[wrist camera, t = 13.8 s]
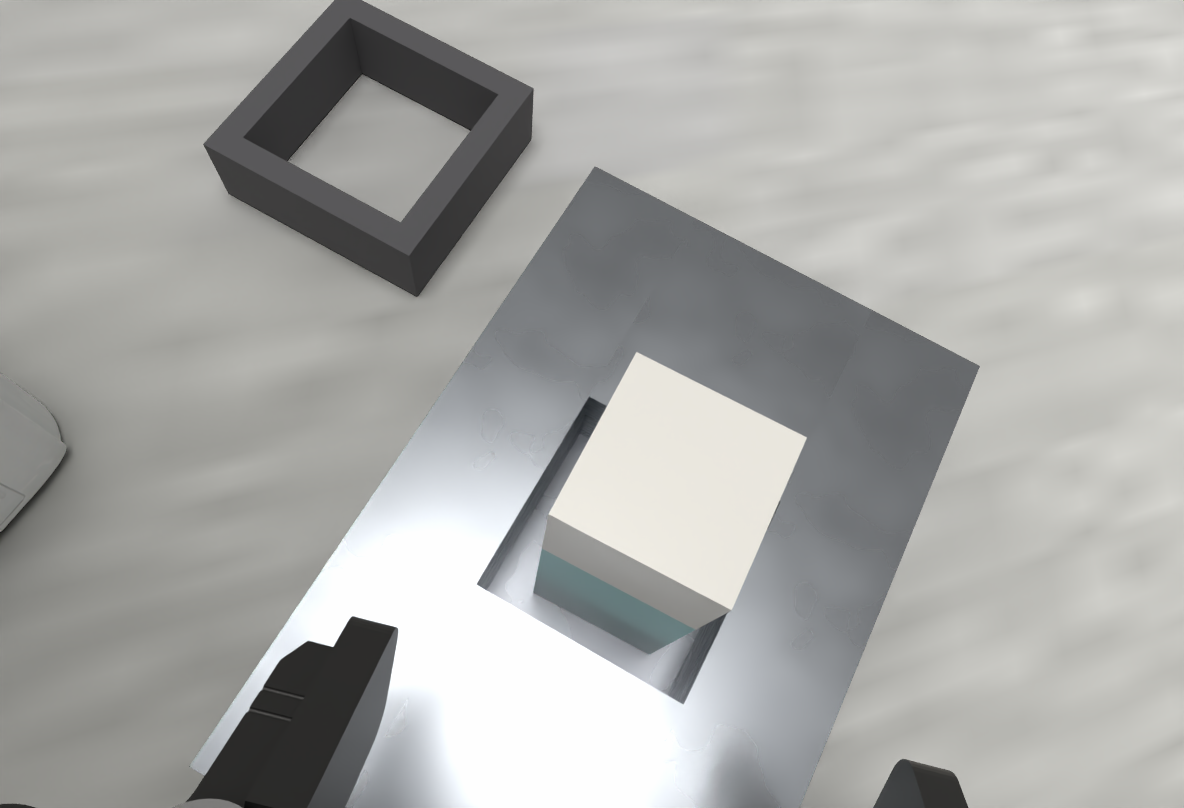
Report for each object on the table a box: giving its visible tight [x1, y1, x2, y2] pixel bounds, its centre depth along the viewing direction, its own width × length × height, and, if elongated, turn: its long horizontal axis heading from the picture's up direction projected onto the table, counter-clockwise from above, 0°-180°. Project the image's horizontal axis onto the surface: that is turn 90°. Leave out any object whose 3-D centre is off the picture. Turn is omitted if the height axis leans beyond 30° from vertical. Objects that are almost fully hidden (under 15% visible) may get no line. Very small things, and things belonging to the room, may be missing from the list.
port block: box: [189, 167, 980, 808], centre depth 23 cm, size 12×18×4 cm, turn 151°
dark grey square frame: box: [203, 0, 534, 296], centre depth 28 cm, size 7×7×2 cm
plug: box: [533, 352, 807, 655], centre depth 20 cm, size 4×4×9 cm
